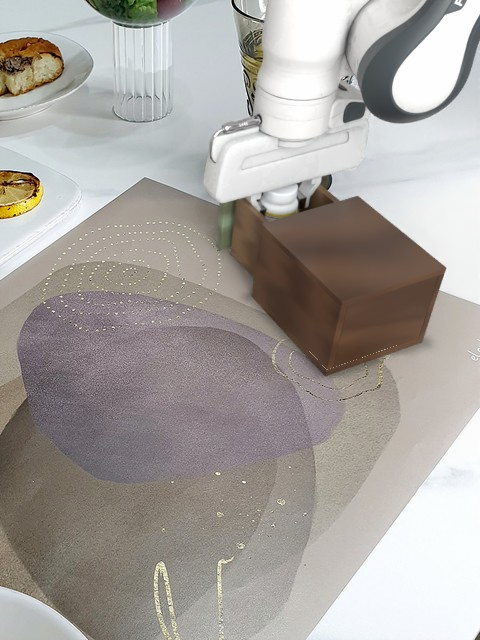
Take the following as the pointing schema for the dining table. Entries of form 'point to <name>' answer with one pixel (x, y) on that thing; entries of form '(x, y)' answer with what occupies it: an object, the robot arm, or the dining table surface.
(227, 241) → the drawer
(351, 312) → the cabinet
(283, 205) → the supplement bottle
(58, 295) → the dining table surface
